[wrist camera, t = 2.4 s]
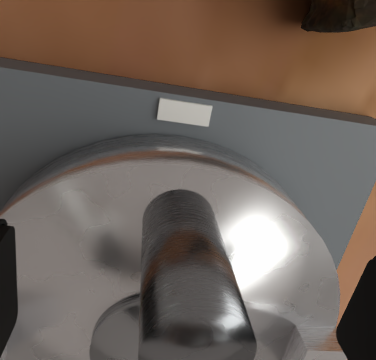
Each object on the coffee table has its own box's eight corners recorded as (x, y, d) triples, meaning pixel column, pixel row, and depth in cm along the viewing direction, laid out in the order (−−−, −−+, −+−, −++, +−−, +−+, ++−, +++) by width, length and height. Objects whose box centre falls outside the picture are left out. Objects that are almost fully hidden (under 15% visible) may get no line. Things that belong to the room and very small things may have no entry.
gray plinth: (-16, 367, 20) (-63, 465, 16) (-49, 49, 13) (-151, 66, 9) (268, 372, 23) (296, 457, 19) (370, 116, 16) (456, 155, 12)
